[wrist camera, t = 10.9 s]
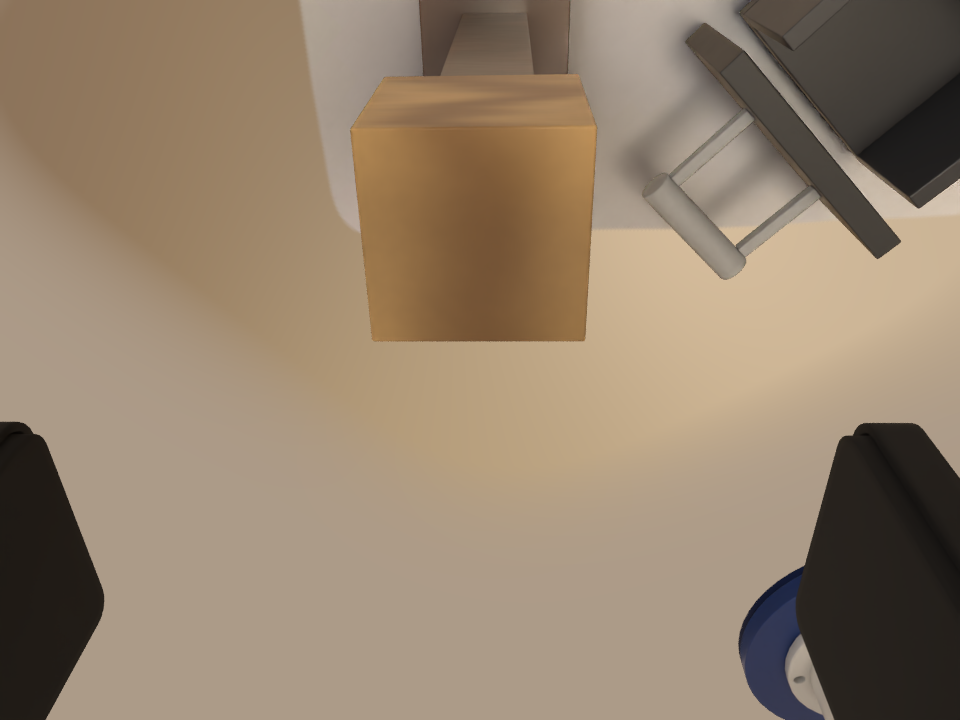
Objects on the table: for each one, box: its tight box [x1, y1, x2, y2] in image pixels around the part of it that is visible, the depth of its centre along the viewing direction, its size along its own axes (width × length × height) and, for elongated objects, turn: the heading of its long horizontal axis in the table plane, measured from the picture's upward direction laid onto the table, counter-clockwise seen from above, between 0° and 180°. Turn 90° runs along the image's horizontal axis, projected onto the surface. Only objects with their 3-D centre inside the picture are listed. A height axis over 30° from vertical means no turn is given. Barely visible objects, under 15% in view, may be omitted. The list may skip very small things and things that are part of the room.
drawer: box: [642, 0, 960, 280], centre depth 35 cm, size 17×11×7 cm, turn 136°
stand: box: [419, 0, 570, 76], centre depth 30 cm, size 7×7×20 cm
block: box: [350, 74, 597, 341], centre depth 19 cm, size 5×5×5 cm
